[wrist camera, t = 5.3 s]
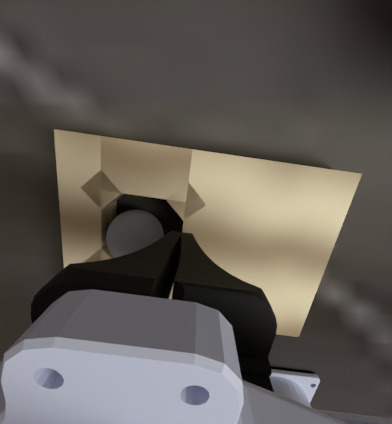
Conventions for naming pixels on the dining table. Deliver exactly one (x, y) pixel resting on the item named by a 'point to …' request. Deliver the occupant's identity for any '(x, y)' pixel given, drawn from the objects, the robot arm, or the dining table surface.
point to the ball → (132, 232)
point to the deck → (211, 210)
